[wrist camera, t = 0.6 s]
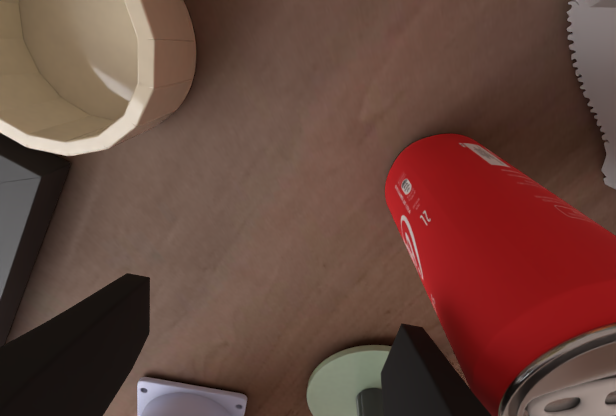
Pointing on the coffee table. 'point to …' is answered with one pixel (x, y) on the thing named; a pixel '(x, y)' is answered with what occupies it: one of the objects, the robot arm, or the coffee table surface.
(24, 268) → the picture frame
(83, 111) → the cream round pot
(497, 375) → the beverage can
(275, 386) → the coffee table surface
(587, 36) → the grey angular bracket
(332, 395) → the cover
